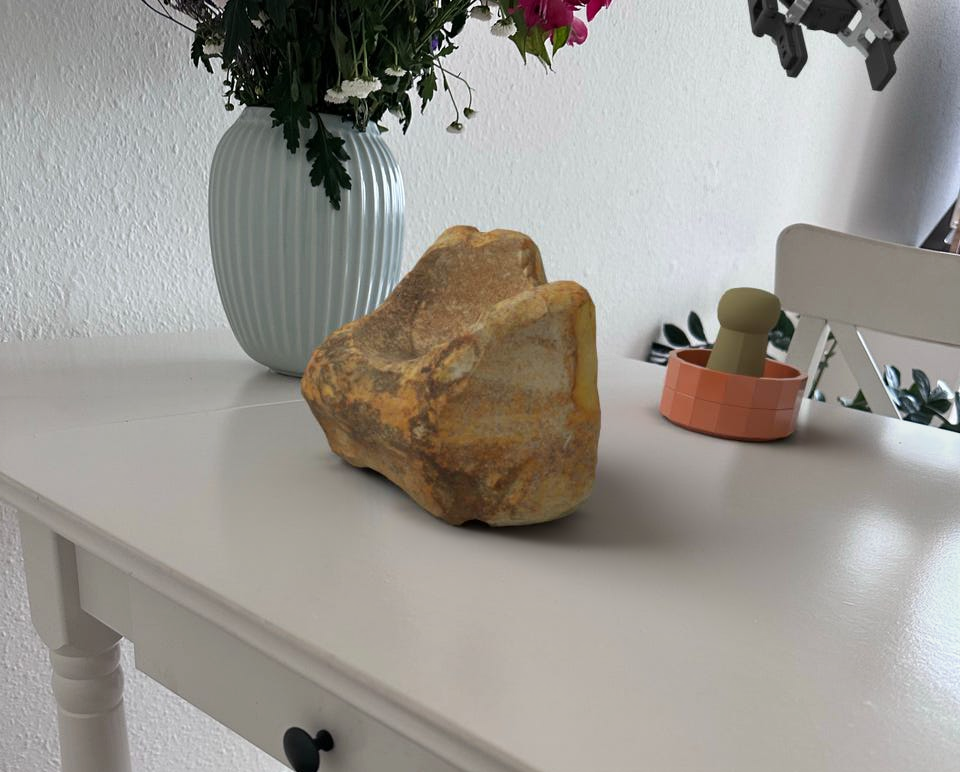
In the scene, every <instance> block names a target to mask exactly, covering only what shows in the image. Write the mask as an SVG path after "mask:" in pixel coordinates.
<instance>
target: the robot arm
mask: <svg viewBox="0 0 960 772" xmlns="http://www.w3.org/2000/svg"><path fill="white" fill-rule="evenodd" d="M778 2H779V3H780V4H782V5H783V6H784V7H785V8H786V9H787V11H786V13H785V14H784V13H783V12H780V9H779V3H778ZM747 7H748V14H749V22H750V28H751V32H752V34H753V36H755V37H757V38H763V37H764V36H765V35H766V36H769V37H770V38H771V39H770V41H771V42H772V44H773V45H775V46H776V49H777V53H778V57H779V63H780V65H781V67H782V69H783V70H785V73H786V77H787V78H793V79H797V78H798V77H799V75H800V74H801V72H802V70H803V69H804V68H805V66H806V65H807V63H808V59H809V53H808V50H807V49H808V48H807V45H806V40H805V36H804V32H803V27H802V25H803V26H804V27H806V30H808V31H814V32H816V31H823V32H826V33H828V34H831V35H835V36H836V37H837V38H838V39H839V40H840V41H841V42H842V44H844V45H845V46H846V47H847V48H852V47H855V48H856V49H857V50H858V52H860V54H861V55H862V56H863V57H864V58H865V60H864V62H865V67H866V71H867V74H868V79H869V83H870V86H871V91H874V92H882V91H884V90H885V88H886V87H887V85H888V84H889V83H890V82H891V81H892V79H893V78H894V77H895V75H896V74H897V70H898V68H897V67H898V66H897V64H896V60H895V57H894V55H895V53H896V52H897V50H898V49H899V48H900V46H901V45H902V44H903V42H904V41H905V40H906V39H907V38H908V36H909V35H910V31H909V28H908V25H907V21H906V19H905V18H906V17H905V16H904V13H903V10H902V6H901V4H900V1H899V0H747ZM858 12H860V15H861V18H860V20H859V21H858V23H857V25H856V26H855V27H854V29H853V30H852V29H851V28H850V27H849V25H850V24H851V22H852V21H853V20H854V18H855V17H856V15H857V14H858ZM868 30H870V31H871V32H872V33H873V34H874V39H873V40H872V42H870V40H869V39H868V38H867V37H866V33H867V32H868Z"/></svg>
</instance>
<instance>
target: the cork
mask: <svg viewBox="0 0 960 772" xmlns="http://www.w3.org/2000/svg"><path fill="white" fill-rule="evenodd" d="M716 312H717V314H716V315H717V320H718V324H719V326H720V327H719V330H718V332H717V335H716V338H715V341H714V343H713V347H712V352H711V355H710V358H709V360H708V363H707V366H706V368H708V369H713V370H717V371H722V372H726V373H732V374H738V375H745V376H752V377H762V378H764V369H765V360H766V358H767V351H768V342H769V334H770V332H772V330H774V328H775V327H776V326H777V325H778V322H779V320H780V316H781V314H782V313H781V312H782V304H781V301H780V298H779V297H778V296H777V295H776V294H775V293H771V292H770V291H767V290H764V289H761V288H756V287H748V286H741V287H733V288H732V287H731V288H729V289H727V290H725V292H724V293H723V294H722V295H721V297H720V299H719V301H718V305H717V310H716Z"/></svg>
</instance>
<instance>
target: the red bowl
mask: <svg viewBox="0 0 960 772" xmlns="http://www.w3.org/2000/svg"><path fill="white" fill-rule="evenodd" d="M712 349H713V348H712ZM712 349H711V348H700V347H699V348H698V347H697V348H693V347H691V348H677V349H673V350H670V351H669V352H668V358H667V362H666V368H665V373H664V377H663V383H662V387H661V392H660V396H659V402H658V412H659V413H660V414H661V415H663V416H665V417H666V418H667V419H668V420H669V421H670V422H672V423H673V424H675V425H677V426H679V427H681V428H684V429H686V430H689V431H693V432H697V433H700V434H704V435H708V436H712V437H717V438H724V439H729V440H737V441H745V442H747V441H749V442H768V441H769V442H770V441H774V440H777V439H780V438H786V437H788V436H790V435H791V434H793V433H795V432H794V431H795V428H796V426H797V425H796V424H797V421H798V417H799V413H800V410H801V405H802V402H803V399H804V394H805V391H806V387H807V383H808V379H809V375H808V373H807V372H806V371H805V370H804V369H801V368H799V367H797V366H795V365H793V364H790V363H787V362H782V361H780V360H776V359H772V358H768V357H766V360H765V369H764V378H762V377H752V376H745V375H738V374H732V373H726V372H722V371H717V370H713V369H708V368H706V366H707V363H708V360H709V358H710V355H711V352H712Z"/></svg>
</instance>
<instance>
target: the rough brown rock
mask: <svg viewBox="0 0 960 772" xmlns="http://www.w3.org/2000/svg"><path fill="white" fill-rule="evenodd" d="M596 311H597V310H596V305H595V302H594V300H593V299H592V296H591V294H590V292H589V290H588V289H587V288H586V287H584V286H583V285H581V284H580V283H578V282H576V281H574V280H555V281H551V282H548V278H547V274H546V271H545V265H544V262H543V258H542V254H541V250H540V248H539V246H538V244H536V243H535V241H534V240H533V239H532V238H531V237H530V236H529V235H528V234H525V233H523V232H521V231H519V230H511V229H505V228H495V229H492V230H490V231H480V230H479V229H478V228H477V227H476V226H473V225H467V224H466V225H463V224H457V225H452V226H450V227H449V228H446V229H445V230H444V231H443V232H442V233H441V234H440V235H438V236H437V238H436V239H435V241H434V242H433V243H432V244H431V245H430V246H428V248H427V249H426V250H425V251H424V252H423V254H422V255H421V256H420V258H419V259H418V260H417V262H416V263H415V265H414V266H413V268H412V269H411V271H408V272H407V273H406V274H405V275H404V276H403V278H402V279H401V280H400V281H399V282H398V283H397V285H396V286H395V287H394V288H393V290H392V291H391V292H390V293H389V295H388V296H387V297H386V298H385V299H384V300H383V301H382V302H381V303H380V304H379V305H378V306H377V307H376V308H375V310H373V311H370V312H369V313H366V314H365V315H363V316H361V317H359V318H357V319H355V320H352V321H349V322H346V323H344V324H343V325H342V326H340V327H338V328H337V329H335V330H334V331H333V332H331V333H330V334H329V335H328V336H327V338H325V339H324V341H323V342H321V343H320V344H319V345H318V346H317V347H316V348H315V349H314V351H313V352H312V354H311V357H310V359H309V362H308V364H307V366H306V368H305V371H304V373H303V375H302V378H301V379H300V380H301V382H300V395H301V396H302V398H303V399H304V401H305V402H306V403H307V405H308V407H309V409H310V412H311V414H312V415H313V417H314V419H315V420H316V421H317V423H318V425H319V426H320V428H321V429H322V431H323V433H324V436H325V437H326V441H327V443H328V446H329V448H330V450H331V452H332V453H333V454H335V455H336V456H338V457H339V458H340V459H342V460H343V461H345V462H346V463H348V464H349V465H351V466H353V467H357V468H369V469H372V470H374V471H375V472H377V473H380V474H382V475H383V476H384V477H386V478H387V479H388V480H389V481H391V482H392V483H394V484H395V485H397V486H398V487H400V489H402V490H403V491H404V492H405V493H406V494H407V495H408V496H409V497H410V498H411V499H412V500H413V501H414V502H416V503H417V504H418V505H419V506H420V507H422V508H423V509H424V510H426V511H427V512H429V513H430V514H432V515H433V516H435V517H437V518H438V519H440V520H442V521H445V522H446V523H448V524H450V525H452V526H461V525H463V524H464V523H465V522H467V521H472V520H479V521H481V522H483V523H486V524H487V525H489V526H490V527H506V526H512V527H513V526H514V527H515V526H529V525H536V524H540V523H546V522H551V521H554V520H558V519H562V518H565V517H567V516H569V515H571V514H573V513H574V512H576V511H577V510H578V509H580V508H581V507H582V506H583V505H584V504H585V503H586V502H588V498H589V497H590V495H591V494H592V492H593V487H594V483H595V479H596V473H597V471H596V470H597V465H598V448H599V443H600V435H601V429H602V409H601V402H600V395H599V389H598V375H599V360H598V359H599V358H598V349H597V314H596V313H597V312H596Z"/></svg>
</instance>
